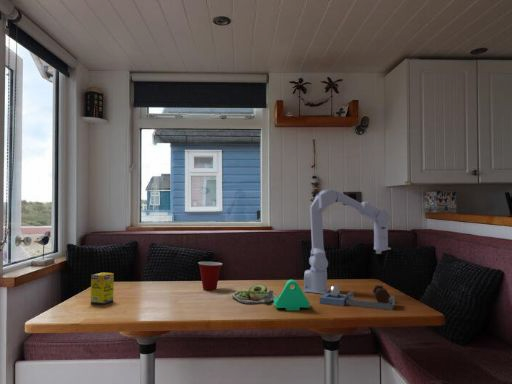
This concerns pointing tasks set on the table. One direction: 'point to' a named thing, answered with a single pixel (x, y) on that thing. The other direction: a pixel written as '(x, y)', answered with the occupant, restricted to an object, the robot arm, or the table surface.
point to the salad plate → (255, 295)
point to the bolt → (381, 294)
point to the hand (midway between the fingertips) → (381, 268)
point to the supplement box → (102, 288)
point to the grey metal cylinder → (335, 291)
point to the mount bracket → (370, 304)
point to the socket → (333, 299)
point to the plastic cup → (209, 274)
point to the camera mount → (291, 297)
